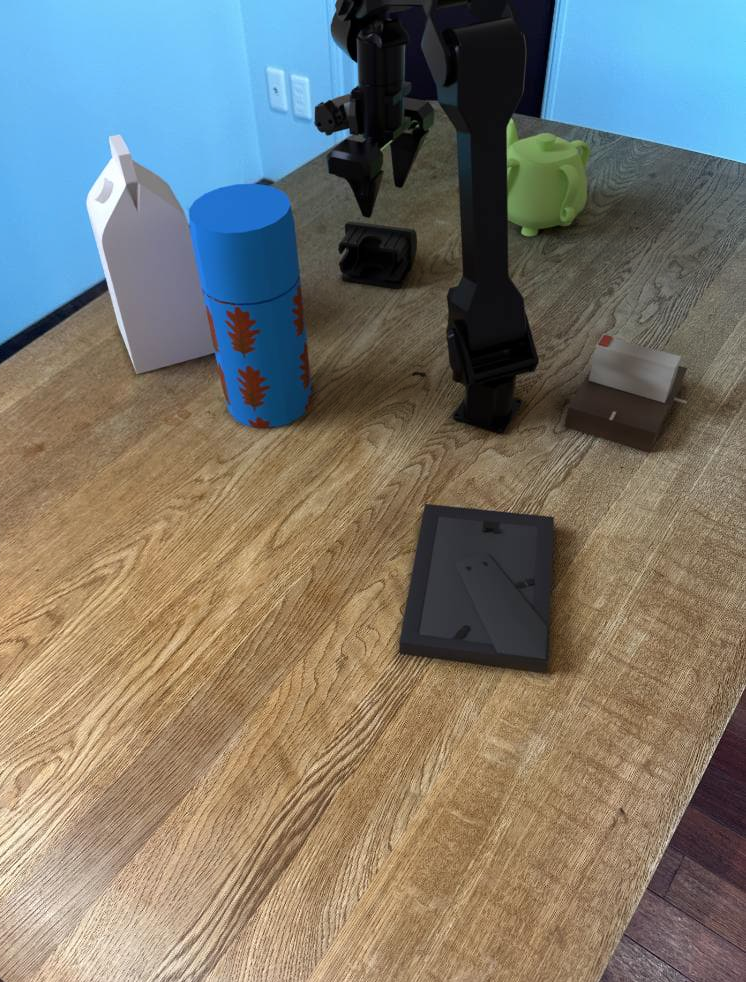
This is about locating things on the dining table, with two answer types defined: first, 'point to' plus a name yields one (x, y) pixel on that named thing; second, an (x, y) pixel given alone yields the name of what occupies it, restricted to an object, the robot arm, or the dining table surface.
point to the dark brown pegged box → (620, 413)
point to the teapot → (544, 180)
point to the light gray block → (634, 368)
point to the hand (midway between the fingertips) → (383, 201)
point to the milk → (148, 264)
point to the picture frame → (481, 588)
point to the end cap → (377, 254)
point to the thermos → (253, 301)
